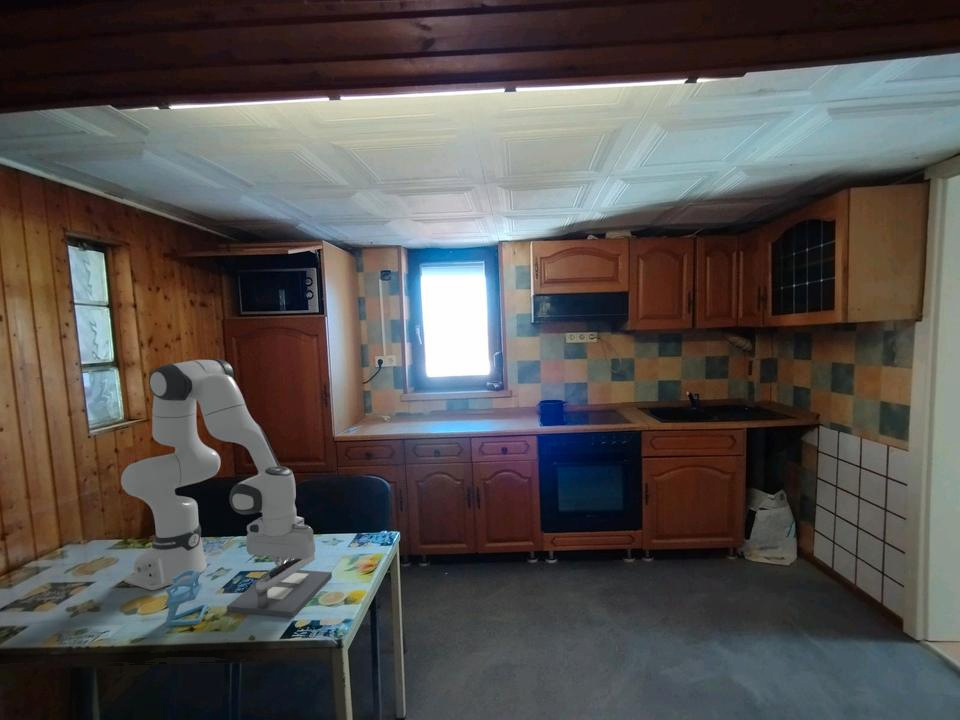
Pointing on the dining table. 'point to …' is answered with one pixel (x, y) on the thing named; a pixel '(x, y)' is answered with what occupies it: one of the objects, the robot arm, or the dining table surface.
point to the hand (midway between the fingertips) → (281, 570)
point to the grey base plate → (282, 595)
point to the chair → (183, 599)
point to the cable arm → (281, 574)
